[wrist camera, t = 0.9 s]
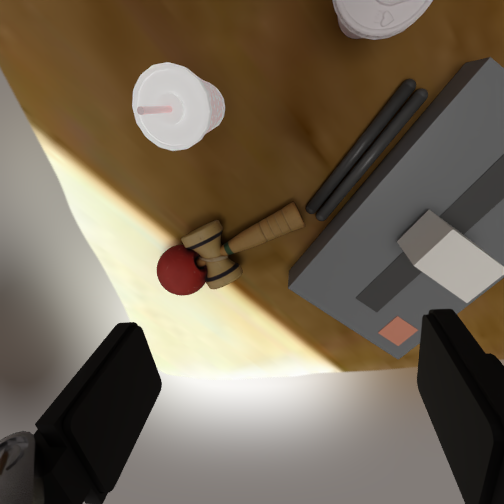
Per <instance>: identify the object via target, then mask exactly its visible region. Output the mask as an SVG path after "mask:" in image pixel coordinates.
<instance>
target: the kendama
mask: <svg viewBox="0 0 504 504" xmlns="http://www.w3.org/2000/svg"><path fill="white" fill-rule="evenodd" d="M303 227H305V223H304V221H303V219H302V217H301V215H300V213H299V211H298V208H297V206H296V204H295V203H294V202H292V203H290V204H288V205H287V206H285V207H284V208H282V210H279V211H277V212H275V213H274V214H272V215H270V216H268V217H267V218H265V219H263V220H261V221H260V222H258V223H256V224H254V225H253V226H251V227H249V228H248V229H246V230H244V231H243V232H241V233H240V234H238V235H237V236H235V237H234V238H232V239H231V240H229V241H228V242H226V243H225V244H223V245H222V246H221V234H222V230H223V227H222V225H221V224H220V222H219V220H215V221H213V222H211V223H208V224H206V225H204V226H202V227H200V228H198V229H196V230H194V231H192V232H190V233H188V234H187V235H185V236H183V237H182V238H181V240H182V242H183V244H184V245H176V246H173V247H171V248H169V249H168V250H167V251H165V252H164V253H163V255H162V256H161V257H160V259H159V261H158V265H157V276H158V279H159V281H160V283H161V285H162V286H163V287H164V288H165V289H166V290H167V291H169V292H171V293H173V294H176V295H189V294H192V293H195V292H196V291H198V290H199V289H200V288H202V287H203V285H204V284H205V282H206V283H207V285H208V286H209V288H210V289H217V288H220V287H223V286H225V285H228V284H230V283H231V282H233V281H235V280H236V279H237V278H239V277H240V276H241V275H242V273H243V270H242V268H241V266H240V264H238V263H235V262H233V261H231V260H230V259H229V258H228V255H231V254H234V253H237V252H240V251H243V250H246V249H249V248H252V247H255V246H257V245H260V244H262V243H265V242H267V241H270V240H272V239H274V238H276V237H279V236H282V235H284V234H287V233H289V232H291V231H295V230H297V229H300V228H303Z"/></svg>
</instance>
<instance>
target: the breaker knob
mask: <svg viewBox="0 0 504 504" xmlns="http://www.w3.org/2000/svg"><path fill="white" fill-rule="evenodd" d="M397 243H398V244H399V245H400V247H401V248H402V250H403V251H404V253H405V254H406V256H407V257H408V258H409V260H410V261H411V263H412V264H413V266H415V267H416V268H418V269H419V270H420V271H422V272H423V273H425V274H426V275H428V276H429V277H430V278H432V279H433V280H435V281H436V282H437V283H439V284H440V285H442V286H443V287H445V288H446V289H447V290H449V291H450V292H452V293H453V294H455V295H456V296H457V297H459V298H460V299H462V300H463V301H464V302H466V303H468V302H469V301H471V300H472V299H473V298H474V297H476V296H477V295H478V294H480V293H481V292H482V291H483V290H485V289H486V288H487V287H489V286H490V285H491V284H492V283H494V282H495V281H496V280H497V279H499V278H500V277H501V276H503V275H504V266H502V265H501V264H500V263H499V262H498V261H496V260H495V259H494V258H493V257H491V256H490V255H489V254H488V253H486V252H485V251H484V250H483V249H481V248H480V247H479V246H478V245H476V244H475V243H474V242H472V241H471V240H470V239H468V238H467V237H466V236H464V235H463V234H462V233H460V232H459V231H458V230H456V229H455V228H454V227H452V226H451V225H449V224H448V223H447V222H445V221H444V220H443V219H441V218H440V217H439V216H437V215H436V214H435V213H433V212H432V211H431V210H428V211H427V212H426V213H425V214H424V215H423V216H422V217H421V218H420V219H419V220H418V221H417V222H416V223H415V224H414V225H413V226H412V227H411V228H410V229H409V230H408V231H407V232H406V233H405V234H404V235H403V236H402V237H401V238H400V239H399V240H398V241H397Z"/></svg>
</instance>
